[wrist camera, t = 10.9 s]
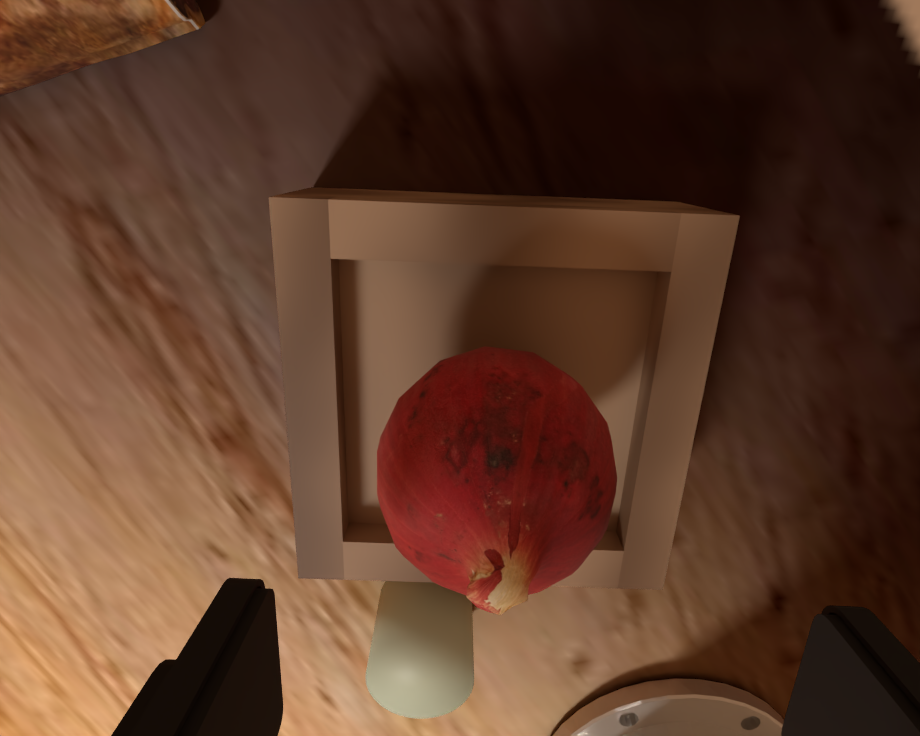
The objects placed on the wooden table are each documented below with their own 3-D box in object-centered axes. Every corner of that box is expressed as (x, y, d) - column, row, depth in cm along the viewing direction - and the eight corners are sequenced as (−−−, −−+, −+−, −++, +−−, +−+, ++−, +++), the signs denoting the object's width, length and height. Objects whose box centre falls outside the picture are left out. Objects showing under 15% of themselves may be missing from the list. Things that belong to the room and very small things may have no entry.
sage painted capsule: (473, 564, 24) (476, 639, 20) (470, 636, 25) (471, 720, 22) (379, 561, 24) (364, 636, 20) (380, 634, 25) (366, 717, 22)
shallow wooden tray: (677, 201, 19) (739, 215, 14) (625, 509, 23) (662, 589, 19) (312, 187, 19) (268, 196, 14) (328, 499, 23) (298, 578, 19)
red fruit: (401, 306, 16) (347, 426, 9) (598, 325, 17) (709, 459, 9) (390, 481, 18) (337, 700, 11) (566, 497, 19) (635, 724, 11)
